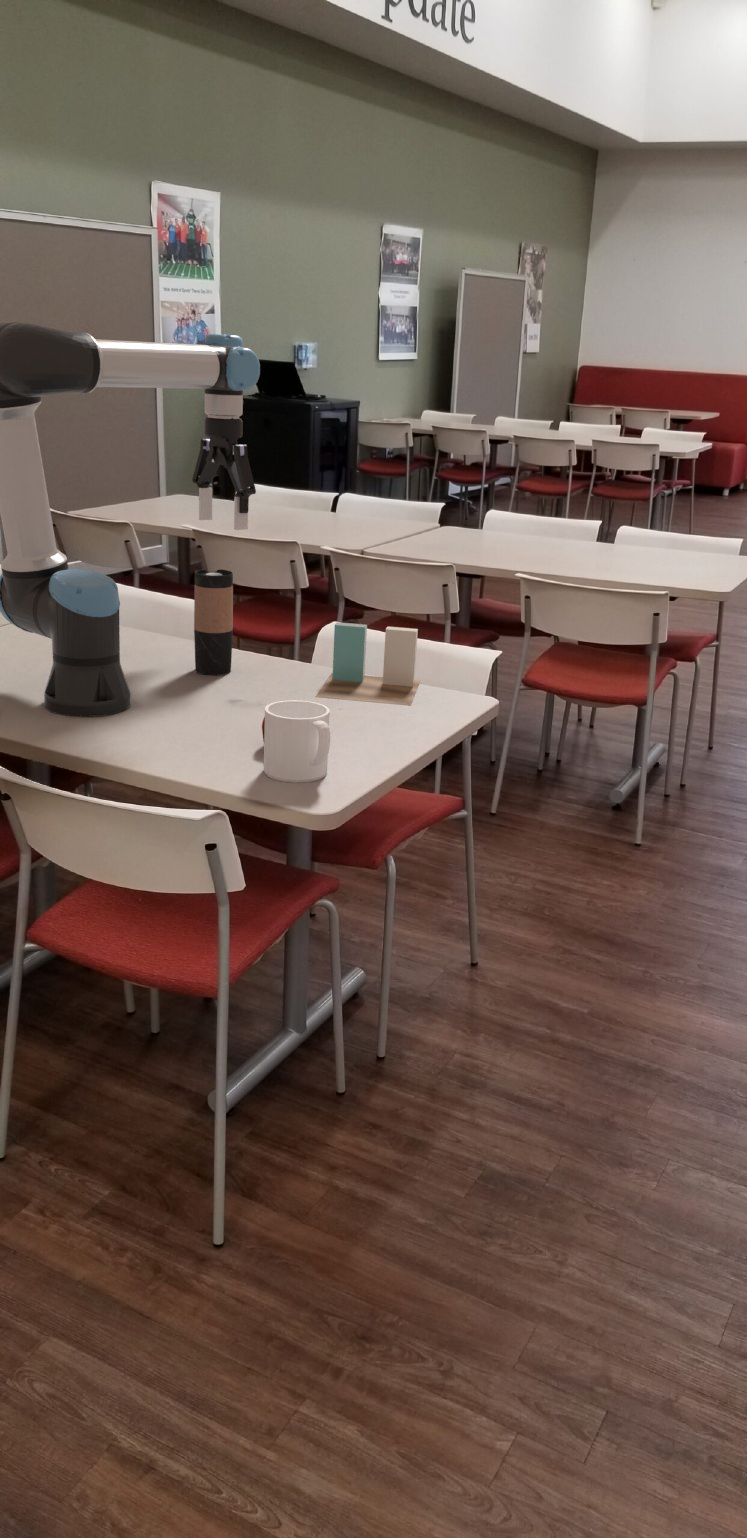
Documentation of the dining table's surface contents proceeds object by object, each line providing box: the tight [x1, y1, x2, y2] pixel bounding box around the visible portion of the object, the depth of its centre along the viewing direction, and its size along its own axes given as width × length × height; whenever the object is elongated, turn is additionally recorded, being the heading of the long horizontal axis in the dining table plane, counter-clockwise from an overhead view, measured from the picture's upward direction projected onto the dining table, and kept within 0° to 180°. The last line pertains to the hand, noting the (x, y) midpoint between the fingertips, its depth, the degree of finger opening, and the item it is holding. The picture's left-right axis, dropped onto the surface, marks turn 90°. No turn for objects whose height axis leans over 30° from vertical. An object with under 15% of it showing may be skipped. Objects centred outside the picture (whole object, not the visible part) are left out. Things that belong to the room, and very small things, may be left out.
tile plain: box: [382, 626, 419, 687], centre depth 233 cm, size 2×6×11 cm, turn 82°
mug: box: [263, 699, 331, 784], centre depth 185 cm, size 13×10×10 cm
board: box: [315, 672, 421, 707], centre depth 231 cm, size 18×18×1 cm
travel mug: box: [193, 568, 234, 676], centre depth 238 cm, size 8×8×20 cm
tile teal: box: [332, 621, 368, 682], centre depth 234 cm, size 2×6×11 cm, turn 82°
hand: (222, 524), depth 245 cm, fingers open, 13 cm apart
